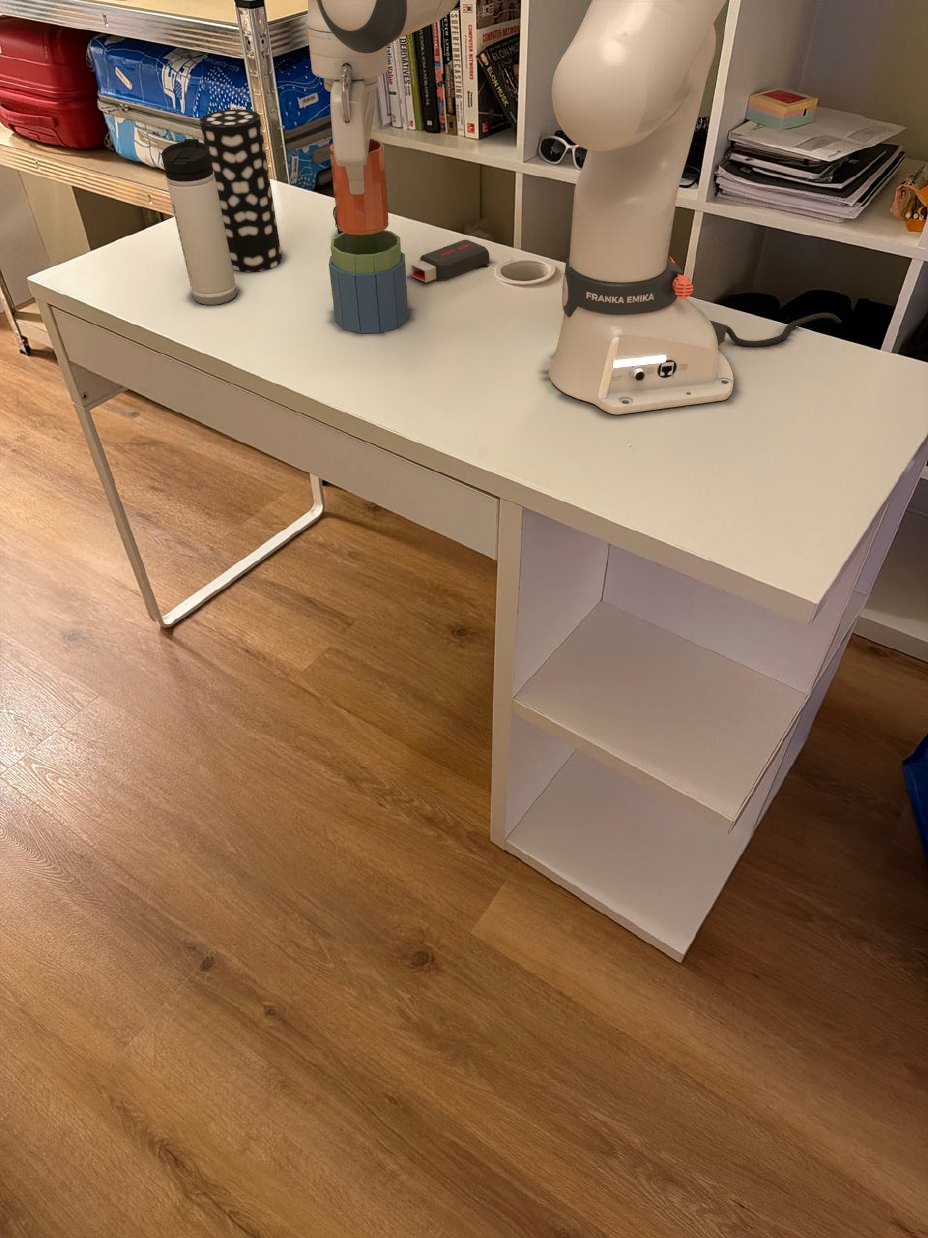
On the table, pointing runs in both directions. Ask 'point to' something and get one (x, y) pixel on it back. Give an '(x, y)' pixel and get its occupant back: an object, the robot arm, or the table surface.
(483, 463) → the table surface
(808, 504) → the table surface
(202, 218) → the travel mug
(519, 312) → the table surface
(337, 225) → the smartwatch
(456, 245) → the usb drive
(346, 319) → the cup stack
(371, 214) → the terracotta cup
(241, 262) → the spotted tube
